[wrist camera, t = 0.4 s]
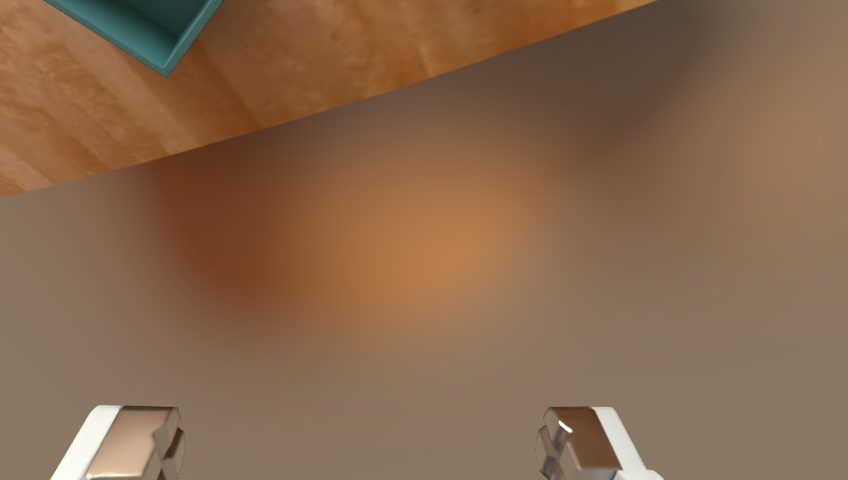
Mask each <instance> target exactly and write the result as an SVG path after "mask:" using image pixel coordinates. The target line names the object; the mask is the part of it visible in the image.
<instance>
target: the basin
mask: <svg viewBox="0 0 848 480" xmlns="http://www.w3.org/2000/svg"><path fill="white" fill-rule="evenodd" d="M44 1H45V2H47V3H49V4H50V5H52V6H53V7H55V8H57V9H58V10H60V11H61V12H63V13H64V14H66V15H68V16H69V17H71V18H72V19H74V20H76V21H77V22H79V23H80V24H82V25H83V26H85V27H87V28H88V29H90V30H91V31H93V32H95V33H96V34H98V35H99V36H101V37H102V38H104V39H106V40H107V41H109V42H110V43H112V44H114V45H115V46H117V47H118V48H120V49H122V50H123V51H125V52H126V53H128V54H129V55H131V56H133V57H134V58H136V59H137V60H139V61H141V62H142V63H144V64H145V65H147V66H148V67H150V68H152V69H153V70H155V71H156V72H158V73H160V74H161V75H163V76H164V77H166V78H168V77H169V75H170V74H171V72H172V71H173V70H174V68H175V67H176V66H177V64H178V63H179V61H180V60H181V59H182V57H183V56H184V54H185V53H186V52H187V50H188V49H189V48H190V46H191V45H192V43H193V42H194V41H195V39H196V38H197V37H198V35H199V34H200V32H201V31H202V30H203V28H204V27H205V25H206V24H207V23H208V21H209V20H210V19H211V17H212V16H213V14H214V13H215V12H216V10H217V9H218V8H219V6H220V5H221V3H222V2H223V1H224V0H44Z"/></svg>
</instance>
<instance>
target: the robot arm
mask: <svg viewBox="0 0 848 480" xmlns="http://www.w3.org/2000/svg"><path fill="white" fill-rule="evenodd" d="M543 418H544V421H545V424H546V425H545V426H543V427H542V428H541V429H539V431H538V434H537V437H536V446H535V447H536V448H535V452H536V458H537V462H538V466H539V469H540V472H541V473H542V474H543V475H544V476H545V477H546V478H547V479H548V480H664V479H663V478H662V477H661V476H660V475H658V474H657V473H656V472H655V471H653V470H647V469H646V468H645V466H644V464H643V462H642V460H641V458H640V456H639V454H638V452H637V451H636V449H635V447H634V445H633V443H632V441H631V439H630V437H629V436H628V434H627V432H626V430H625V428H624V426H623V424H622V422H621V421H620V419H619V417H618V415H617V413H616V411H615V410H613V408H612V407H549V408H548V409H547V410H546V412H545V415H544V417H543ZM180 419H181V416H180V412H179V408H178V407H153V406H109V405H107V406H106V405H105V406H104V405H100V406H99V405H98V406H97V407H96V408H95V409H94V410H93V411H92V412H91V413H90V414H89V416H88V418H87V419H86V421H85V422H84V424H83V426H82V428H81V430H80V431H79V433H78V434H77V436H76V438H75V439H74V441H73V443H72V444H71V446H70V448H69V449H68V451H67V453H66V454H65V456H64V458H63V460H62V461H61V463H60V465H59V466H58V468H57V470H56V471H55V473H54V475H53V476H52V478H51V480H176V479H177V478H178V477H179V474H180V471H181V468H182V465H183V460H184V455H185V434H184V431H183V430H181V429H180V428H179V427H178V424H179V421H180Z"/></svg>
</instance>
